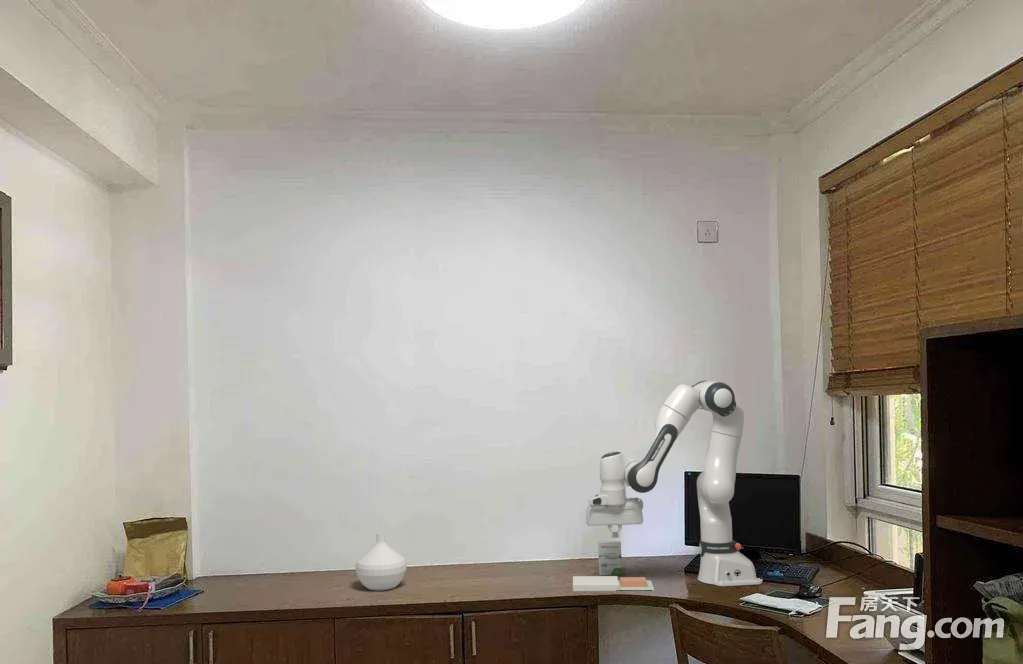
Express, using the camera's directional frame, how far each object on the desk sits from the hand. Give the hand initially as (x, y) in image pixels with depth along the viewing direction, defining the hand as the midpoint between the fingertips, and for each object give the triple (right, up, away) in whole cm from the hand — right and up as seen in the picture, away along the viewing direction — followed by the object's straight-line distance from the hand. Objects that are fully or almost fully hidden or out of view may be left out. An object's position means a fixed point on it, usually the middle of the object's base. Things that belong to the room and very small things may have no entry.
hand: (615, 537), depth 307 cm
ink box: (0, -18, +18) cm, 26 cm away
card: (+6, -17, -1) cm, 18 cm away
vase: (-84, -19, +5) cm, 86 cm away
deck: (-7, -17, 0) cm, 19 cm away
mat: (+7, -17, -1) cm, 18 cm away
